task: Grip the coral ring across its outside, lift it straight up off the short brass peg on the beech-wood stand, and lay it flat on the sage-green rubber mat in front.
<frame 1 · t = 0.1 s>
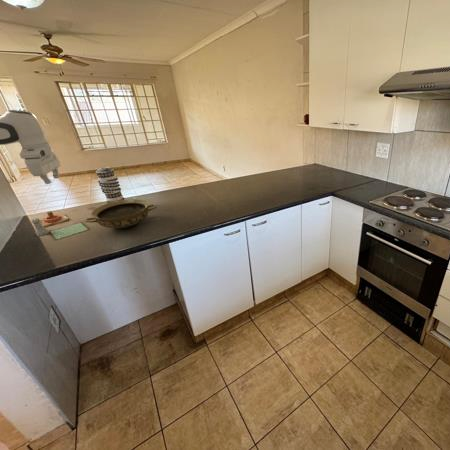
hand: (53, 180, 115), 24 cm above the countertop, tool pointing down, fingers open, 8 cm apart
holder: (54, 221, 131), on the countertop
mat: (69, 231, 121), on the countertop
rook chess piece: (43, 234, 119), on the countertop
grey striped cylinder: (119, 210, 144), on the countertop
ring: (52, 218, 130), point 2 cm above the countertop, touching holder
ceramic bowl: (127, 225, 127), on the countertop
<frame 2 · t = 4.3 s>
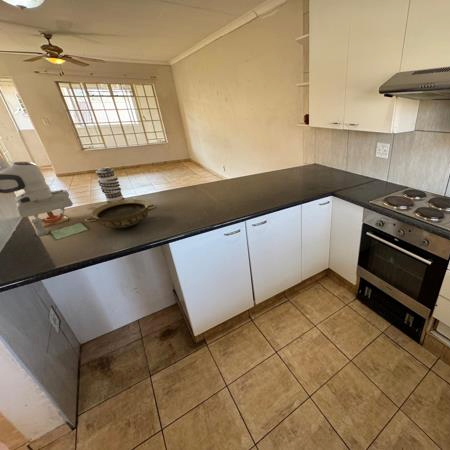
hand: (52, 219, 130), 2 cm above the countertop, tool pointing down, fingers closed on ring, 7 cm apart
ring: (52, 218, 130), point 2 cm above the countertop, touching gripper, holder
everything else where it was.
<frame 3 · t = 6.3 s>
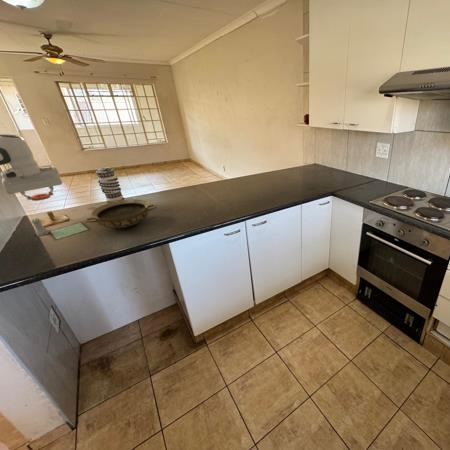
hand: (40, 197, 124), 14 cm above the countertop, tool pointing down, fingers closed on ring, 7 cm apart
ring: (40, 197, 124), point 14 cm above the countertop, touching gripper
everything else where it was.
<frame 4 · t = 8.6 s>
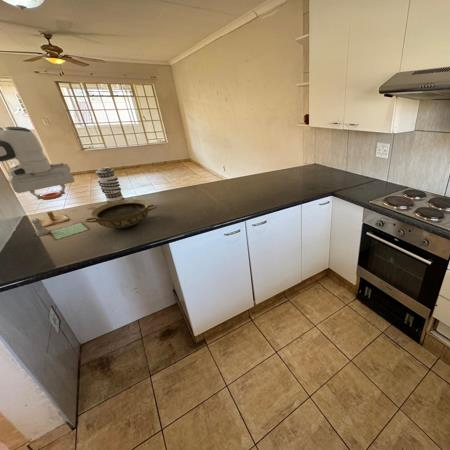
hand: (51, 196, 113), 18 cm above the countertop, tool pointing down, fingers closed on ring, 7 cm apart
ring: (51, 196, 113), point 18 cm above the countertop, touching gripper
everything else where it was.
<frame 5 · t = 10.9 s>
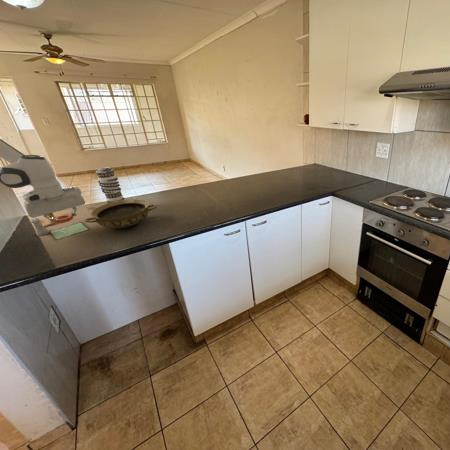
hand: (63, 218, 118), 7 cm above the countertop, tool pointing down, fingers closed on ring, 7 cm apart
ring: (63, 218, 118), point 7 cm above the countertop, touching gripper
everything else where it was.
when the fingers open (1 cm above the countertop, at t = 13.0 s): ring stays where it is, resting on mat.
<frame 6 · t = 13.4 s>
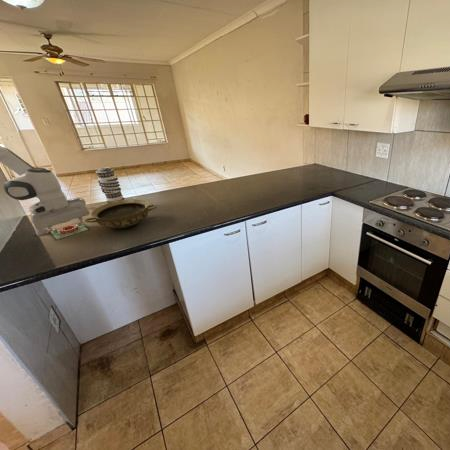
hand: (68, 229, 120), 1 cm above the countertop, tool pointing down, fingers open, 8 cm apart
ring: (69, 229, 121), point 1 cm above the countertop, touching mat
everything else where it was.
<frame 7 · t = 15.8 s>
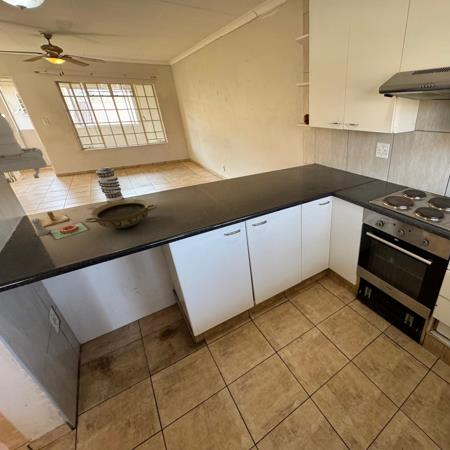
hand: (23, 180, 116), 24 cm above the countertop, tool pointing down, fingers open, 8 cm apart
nothing on the countertop moved.
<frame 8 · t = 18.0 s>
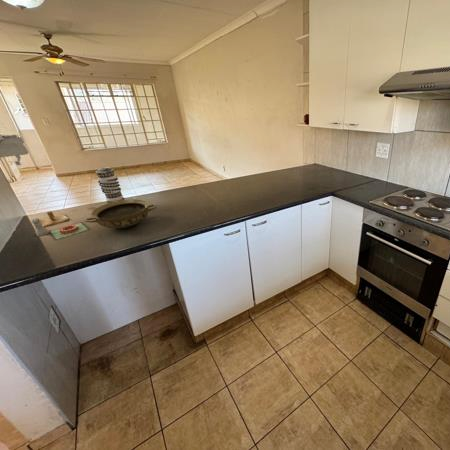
hand: (5, 167, 118), 29 cm above the countertop, tool pointing down, fingers open, 8 cm apart
nothing on the countertop moved.
at the end: ring inside the target area on the mat (0.1 cm from its centre), point 1.2 cm above the mat's base; ring tilted 0°; ring touching mat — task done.
